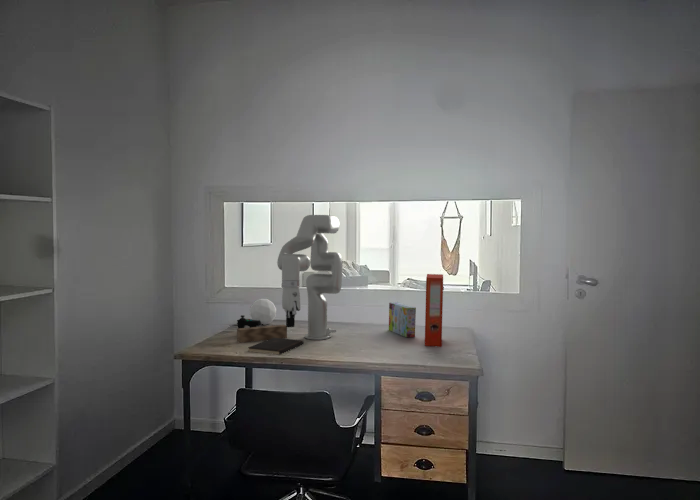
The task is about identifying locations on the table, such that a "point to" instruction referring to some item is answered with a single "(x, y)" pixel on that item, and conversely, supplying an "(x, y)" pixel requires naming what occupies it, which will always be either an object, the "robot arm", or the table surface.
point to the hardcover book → (276, 345)
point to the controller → (247, 322)
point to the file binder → (434, 310)
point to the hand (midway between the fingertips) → (290, 326)
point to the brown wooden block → (261, 333)
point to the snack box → (402, 319)
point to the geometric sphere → (263, 311)
